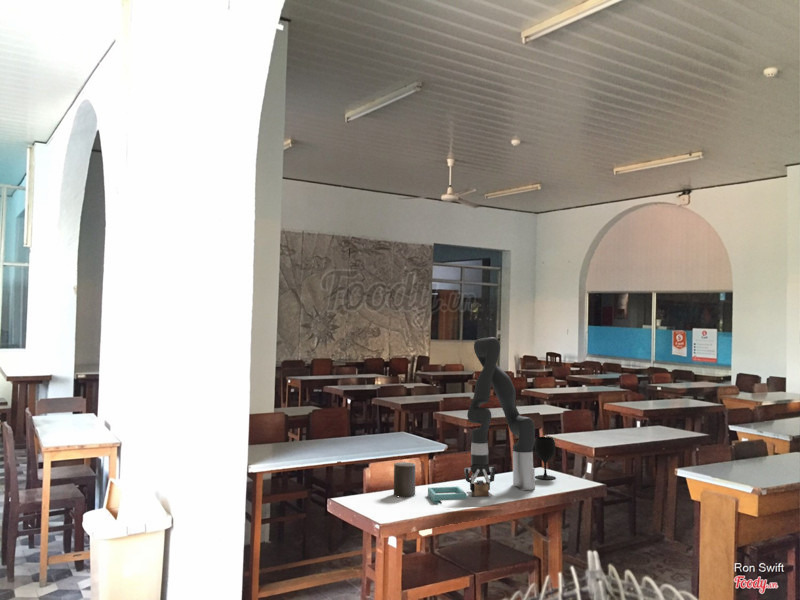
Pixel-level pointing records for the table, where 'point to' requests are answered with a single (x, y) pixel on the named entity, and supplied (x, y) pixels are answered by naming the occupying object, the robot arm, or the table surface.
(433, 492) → the tray
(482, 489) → the walnut collar
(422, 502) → the table surface
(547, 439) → the wine glass
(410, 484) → the pillar candle
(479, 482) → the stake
